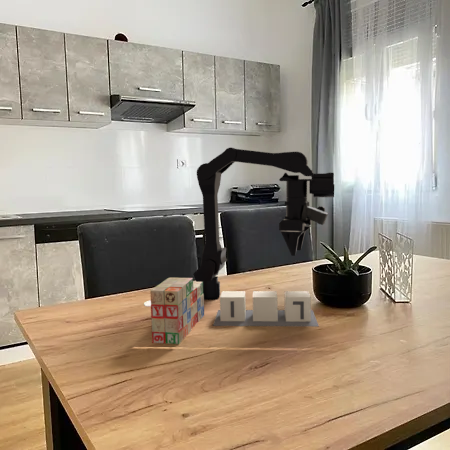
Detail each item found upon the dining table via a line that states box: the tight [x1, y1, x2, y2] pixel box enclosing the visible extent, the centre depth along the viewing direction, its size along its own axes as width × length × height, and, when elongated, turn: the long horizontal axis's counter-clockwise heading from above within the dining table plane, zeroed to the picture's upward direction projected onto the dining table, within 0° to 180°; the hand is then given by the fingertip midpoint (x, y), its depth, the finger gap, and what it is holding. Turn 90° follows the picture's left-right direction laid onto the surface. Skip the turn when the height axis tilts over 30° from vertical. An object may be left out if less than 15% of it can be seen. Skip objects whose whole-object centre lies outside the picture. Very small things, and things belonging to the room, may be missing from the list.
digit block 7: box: [283, 290, 312, 322], centre depth 112 cm, size 6×6×6 cm
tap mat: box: [212, 309, 319, 327], centre depth 113 cm, size 25×13×1 cm, turn 85°
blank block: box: [252, 290, 279, 321], centre depth 113 cm, size 6×6×6 cm
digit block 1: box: [219, 290, 247, 321], centre depth 113 cm, size 6×6×6 cm
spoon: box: [143, 299, 151, 307], centre depth 135 cm, size 5×18×1 cm, turn 163°
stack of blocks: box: [149, 277, 205, 345], centre depth 106 cm, size 21×6×12 cm, turn 168°
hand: (296, 252), depth 127 cm, fingers open, 9 cm apart
